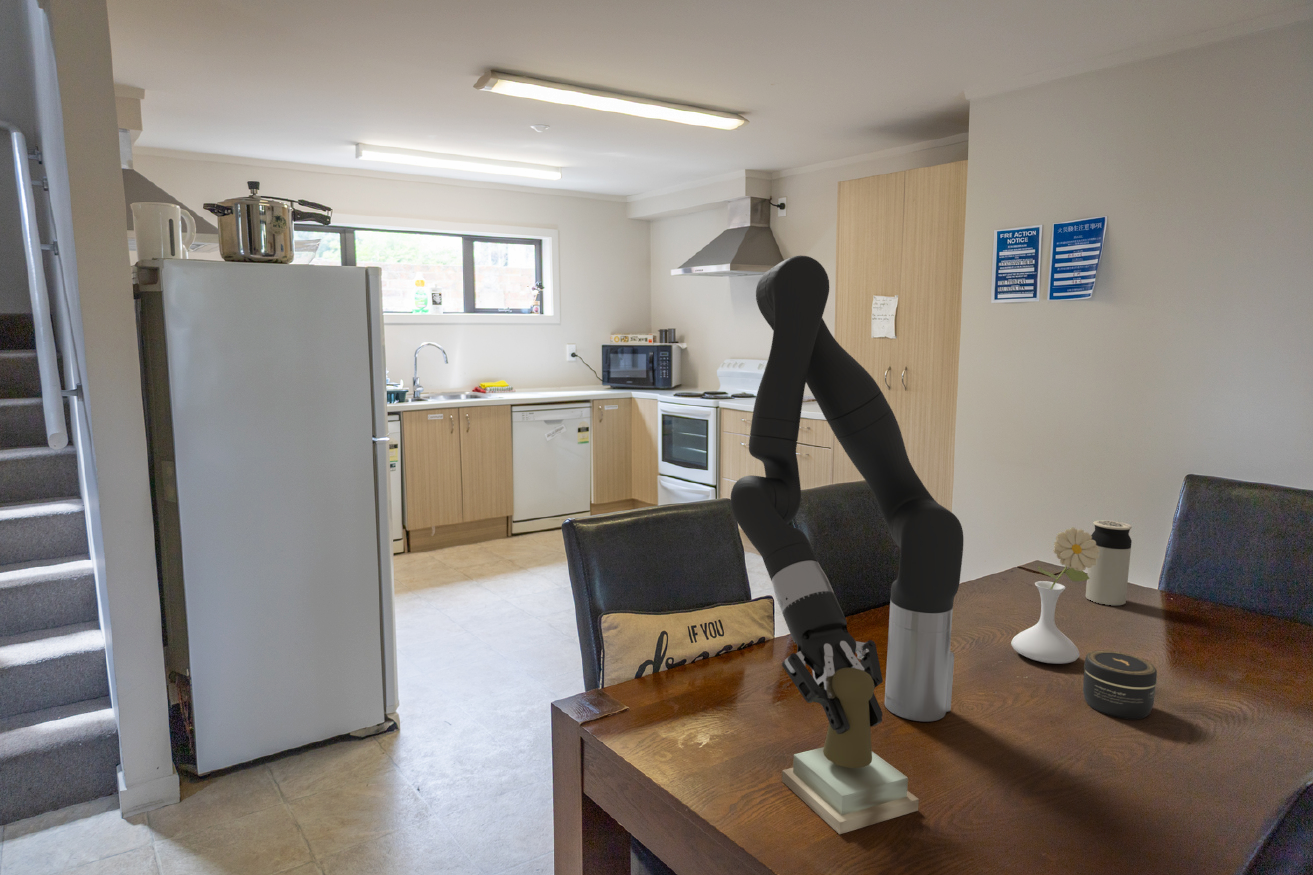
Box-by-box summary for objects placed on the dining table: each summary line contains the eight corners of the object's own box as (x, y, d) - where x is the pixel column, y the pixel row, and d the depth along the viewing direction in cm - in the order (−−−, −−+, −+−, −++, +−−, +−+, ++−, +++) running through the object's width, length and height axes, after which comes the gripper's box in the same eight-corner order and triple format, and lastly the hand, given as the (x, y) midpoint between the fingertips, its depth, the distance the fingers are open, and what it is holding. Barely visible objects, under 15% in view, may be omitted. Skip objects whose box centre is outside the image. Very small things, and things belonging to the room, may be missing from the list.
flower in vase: (1011, 663, 140) (1022, 529, 137) (1009, 641, 151) (1018, 516, 148) (1093, 676, 135) (1106, 537, 132) (1084, 652, 146) (1096, 523, 143)
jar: (1092, 687, 131) (1096, 644, 130) (1160, 707, 124) (1165, 662, 123) (1072, 705, 124) (1076, 660, 123) (1143, 728, 117) (1148, 680, 116)
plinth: (855, 761, 106) (856, 734, 105) (918, 810, 95) (920, 780, 95) (781, 780, 101) (782, 752, 100) (839, 834, 90) (841, 802, 90)
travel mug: (1093, 605, 173) (1100, 526, 171) (1079, 593, 181) (1086, 518, 179) (1131, 607, 172) (1139, 529, 170) (1116, 596, 180) (1123, 520, 177)
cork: (817, 742, 100) (822, 661, 99) (862, 742, 101) (868, 661, 99) (831, 768, 94) (837, 682, 93) (879, 767, 95) (886, 682, 93)
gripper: (774, 595, 99) (827, 728, 89) (863, 583, 105) (922, 707, 95) (751, 621, 104) (798, 749, 95) (837, 608, 110) (889, 727, 101)
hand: (860, 727), depth 95 cm, fingers closed on cork, 4 cm apart
